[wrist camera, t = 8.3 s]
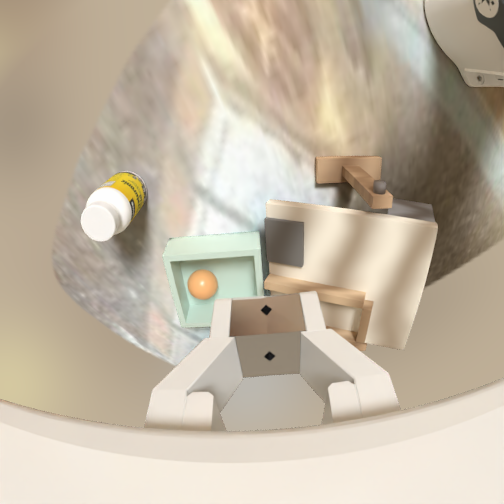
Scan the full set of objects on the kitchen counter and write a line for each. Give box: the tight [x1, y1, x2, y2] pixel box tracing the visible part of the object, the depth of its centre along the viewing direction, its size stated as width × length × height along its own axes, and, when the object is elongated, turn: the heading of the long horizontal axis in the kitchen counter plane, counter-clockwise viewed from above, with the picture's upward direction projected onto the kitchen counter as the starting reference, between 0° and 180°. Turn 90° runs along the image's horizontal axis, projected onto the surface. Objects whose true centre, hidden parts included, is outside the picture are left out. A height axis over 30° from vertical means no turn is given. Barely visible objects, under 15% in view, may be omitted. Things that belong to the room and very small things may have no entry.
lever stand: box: [316, 156, 393, 351], centre depth 36 cm, size 8×22×11 cm, turn 4°
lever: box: [264, 198, 438, 350], centre depth 35 cm, size 17×16×9 cm
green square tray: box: [162, 231, 264, 328], centre depth 41 cm, size 12×12×4 cm
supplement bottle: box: [81, 171, 147, 241], centre depth 33 cm, size 5×5×10 cm
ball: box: [187, 269, 218, 300], centre depth 41 cm, size 4×4×4 cm
